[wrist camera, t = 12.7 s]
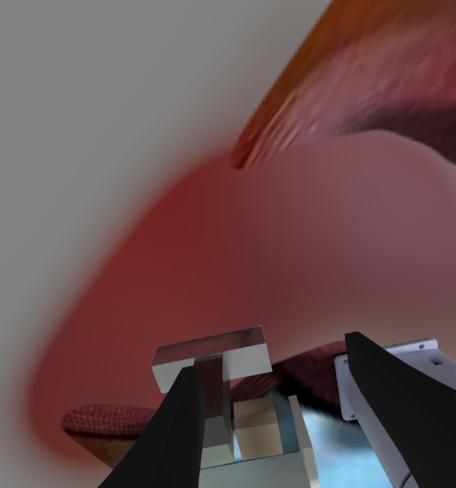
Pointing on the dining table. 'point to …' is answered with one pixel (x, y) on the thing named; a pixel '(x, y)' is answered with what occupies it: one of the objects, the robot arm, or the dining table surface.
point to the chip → (257, 428)
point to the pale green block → (218, 454)
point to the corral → (270, 466)
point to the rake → (215, 372)
